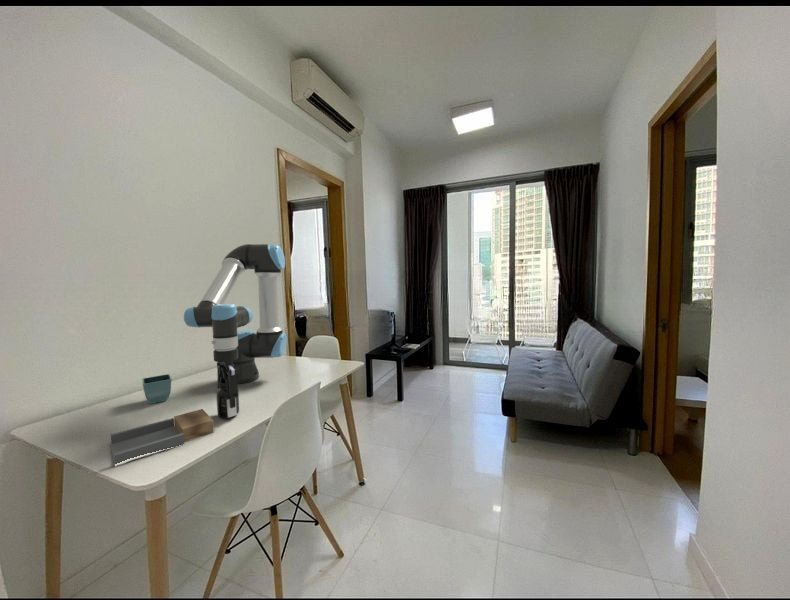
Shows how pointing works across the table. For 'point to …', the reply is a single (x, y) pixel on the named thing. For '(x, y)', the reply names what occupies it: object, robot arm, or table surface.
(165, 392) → the flower pot
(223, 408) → the supplement bottle
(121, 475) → the table surface
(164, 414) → the table surface
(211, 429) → the walnut ledge
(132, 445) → the grey tray
